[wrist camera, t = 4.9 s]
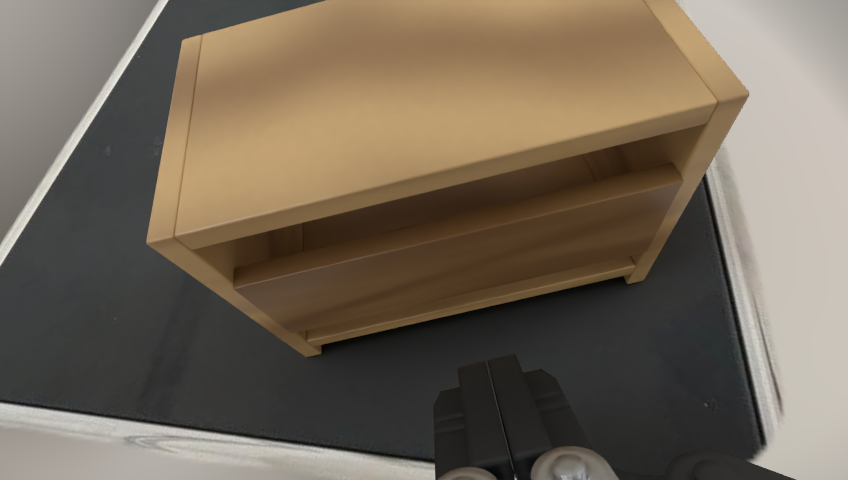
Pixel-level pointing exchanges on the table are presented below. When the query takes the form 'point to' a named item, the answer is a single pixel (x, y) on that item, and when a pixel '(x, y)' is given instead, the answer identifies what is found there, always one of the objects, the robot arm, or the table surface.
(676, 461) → the robot arm
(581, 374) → the table surface
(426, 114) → the wooden drawer chest
